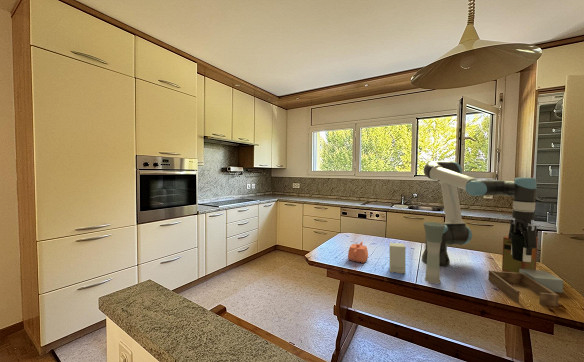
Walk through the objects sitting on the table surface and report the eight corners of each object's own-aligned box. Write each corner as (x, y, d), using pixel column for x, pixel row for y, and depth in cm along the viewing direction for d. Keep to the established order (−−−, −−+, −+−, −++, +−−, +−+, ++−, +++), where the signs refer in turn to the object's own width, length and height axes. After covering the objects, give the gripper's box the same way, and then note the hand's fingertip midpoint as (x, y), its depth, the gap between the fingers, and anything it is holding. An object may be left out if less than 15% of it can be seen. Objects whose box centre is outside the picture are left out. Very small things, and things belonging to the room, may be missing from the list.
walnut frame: (516, 302, 105) (516, 291, 105) (488, 279, 127) (488, 270, 126) (558, 306, 102) (559, 295, 102) (522, 282, 123) (522, 273, 123)
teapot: (345, 262, 150) (345, 246, 150) (353, 253, 166) (353, 239, 165) (363, 266, 144) (363, 249, 144) (370, 256, 160) (370, 241, 159)
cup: (505, 256, 117) (506, 232, 116) (519, 256, 118) (520, 232, 117) (521, 263, 110) (523, 237, 109) (536, 262, 110) (538, 236, 109)
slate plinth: (534, 290, 116) (535, 277, 115) (518, 279, 126) (519, 268, 126) (562, 292, 113) (563, 280, 113) (544, 282, 124) (545, 270, 123)
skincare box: (404, 269, 139) (404, 243, 138) (405, 274, 133) (406, 247, 132) (388, 267, 142) (389, 242, 141) (389, 272, 136) (390, 245, 135)
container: (436, 286, 119) (438, 227, 118) (418, 278, 128) (419, 223, 126) (447, 282, 124) (448, 224, 122) (429, 275, 132) (430, 221, 131)
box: (522, 278, 128) (524, 241, 127) (501, 271, 136) (503, 237, 135) (535, 271, 136) (537, 237, 135) (515, 266, 144) (516, 233, 143)
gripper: (551, 215, 101) (547, 267, 103) (518, 207, 121) (515, 251, 123) (529, 214, 103) (526, 266, 105) (500, 206, 123) (498, 249, 125)
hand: (520, 258), depth 114 cm, fingers closed on cup, 8 cm apart
